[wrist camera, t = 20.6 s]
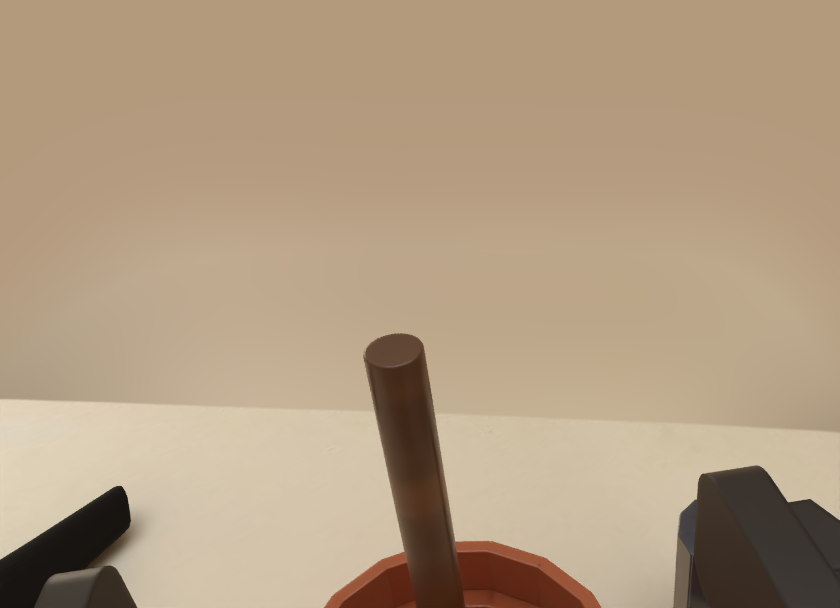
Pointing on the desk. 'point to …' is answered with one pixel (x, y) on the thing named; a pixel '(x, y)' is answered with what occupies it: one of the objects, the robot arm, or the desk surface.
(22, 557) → the electric trimmer
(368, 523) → the desk surface
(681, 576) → the tube
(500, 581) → the bowl
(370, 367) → the stick
